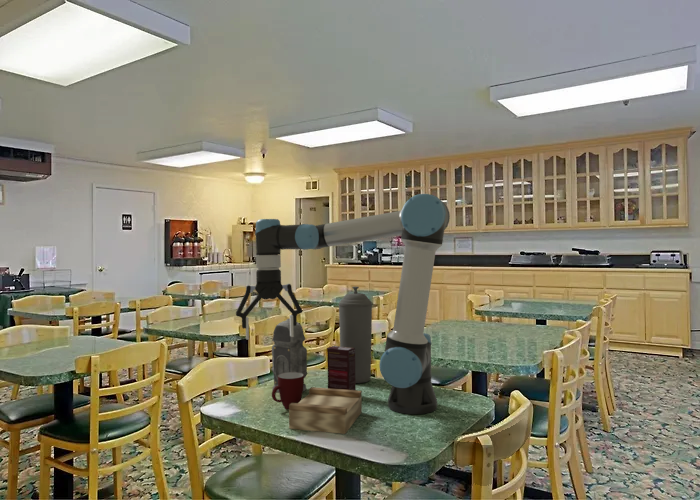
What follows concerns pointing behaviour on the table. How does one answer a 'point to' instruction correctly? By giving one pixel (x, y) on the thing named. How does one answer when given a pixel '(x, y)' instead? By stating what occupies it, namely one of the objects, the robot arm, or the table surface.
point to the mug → (289, 388)
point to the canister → (357, 331)
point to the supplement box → (341, 368)
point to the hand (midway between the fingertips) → (269, 337)
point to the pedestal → (326, 410)
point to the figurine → (288, 351)
